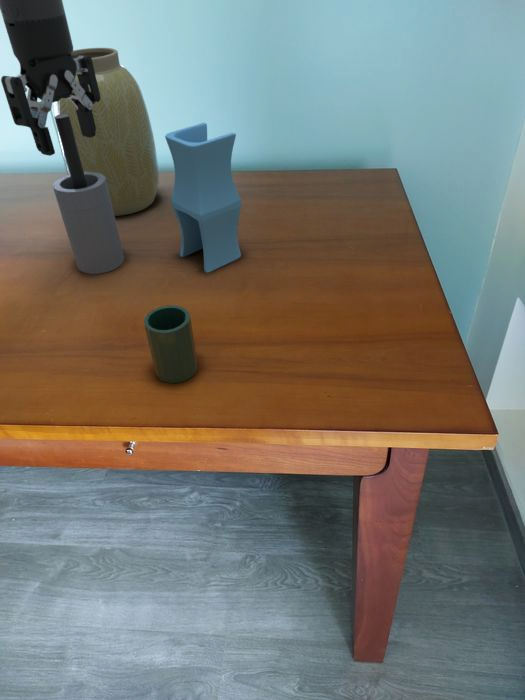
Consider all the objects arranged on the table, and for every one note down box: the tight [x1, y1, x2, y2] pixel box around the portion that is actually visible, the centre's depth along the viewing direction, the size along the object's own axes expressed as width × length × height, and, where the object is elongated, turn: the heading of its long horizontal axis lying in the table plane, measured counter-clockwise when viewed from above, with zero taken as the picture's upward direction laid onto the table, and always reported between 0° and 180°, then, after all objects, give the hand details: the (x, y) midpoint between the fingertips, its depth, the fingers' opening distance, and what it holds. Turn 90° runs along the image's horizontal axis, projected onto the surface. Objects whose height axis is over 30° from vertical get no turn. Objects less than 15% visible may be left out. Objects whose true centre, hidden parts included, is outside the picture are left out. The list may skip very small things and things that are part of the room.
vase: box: [53, 47, 161, 217], centre depth 99 cm, size 17×17×27 cm
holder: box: [143, 304, 199, 384], centre depth 65 cm, size 5×5×8 cm
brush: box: [54, 114, 88, 189], centre depth 81 cm, size 3×3×22 cm
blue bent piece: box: [164, 122, 242, 274], centre depth 83 cm, size 8×8×20 cm
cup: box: [52, 172, 125, 275], centre depth 85 cm, size 8×8×14 cm
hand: (69, 144), depth 77 cm, fingers open, 7 cm apart
